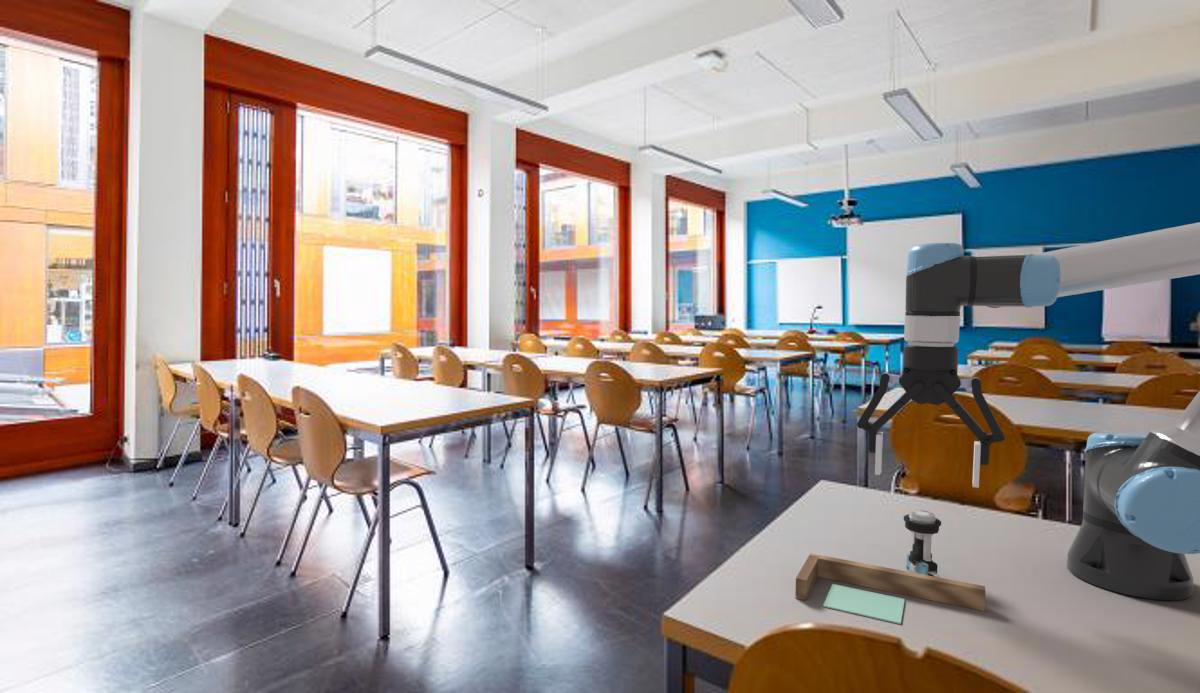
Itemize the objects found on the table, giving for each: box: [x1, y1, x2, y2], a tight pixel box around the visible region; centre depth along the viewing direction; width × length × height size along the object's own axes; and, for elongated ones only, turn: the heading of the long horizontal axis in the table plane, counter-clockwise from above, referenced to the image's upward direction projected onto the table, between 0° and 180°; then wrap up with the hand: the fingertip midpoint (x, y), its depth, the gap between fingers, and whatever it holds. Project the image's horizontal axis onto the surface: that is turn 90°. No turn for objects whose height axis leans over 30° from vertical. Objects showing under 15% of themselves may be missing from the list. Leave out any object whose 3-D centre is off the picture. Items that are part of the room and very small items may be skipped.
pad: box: [822, 583, 906, 625], centre depth 90 cm, size 10×8×1 cm
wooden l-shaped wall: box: [794, 553, 986, 612], centre depth 90 cm, size 24×11×3 cm, turn 61°
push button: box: [903, 509, 942, 578], centre depth 99 cm, size 7×5×10 cm
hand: (925, 479), depth 98 cm, fingers open, 13 cm apart
